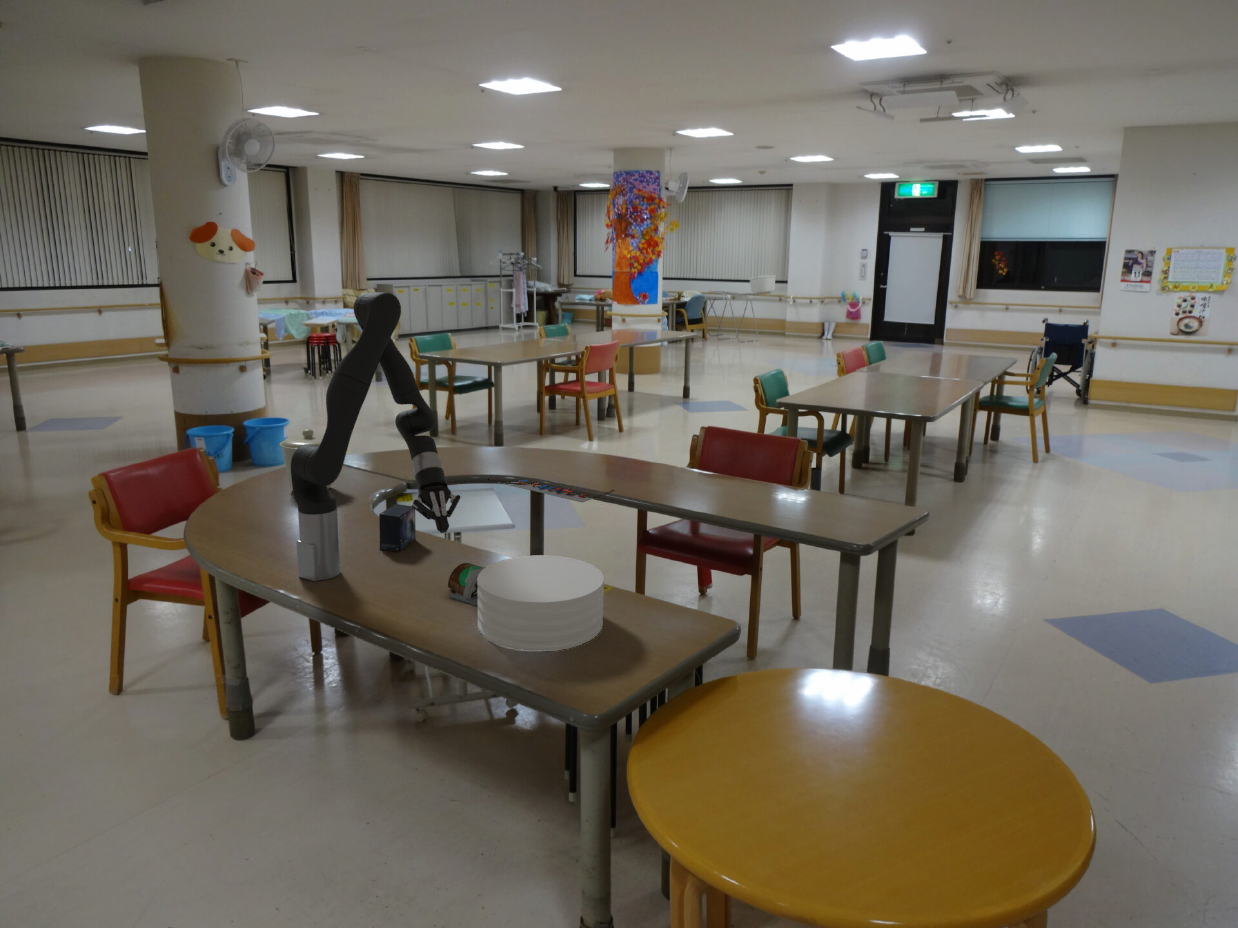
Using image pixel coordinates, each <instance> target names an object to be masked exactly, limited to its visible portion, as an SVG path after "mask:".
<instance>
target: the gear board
mask: <svg viewBox="0 0 1238 928" xmlns="http://www.w3.org/2000/svg"><path fill="white" fill-rule="evenodd" d="M527 481H528V480H519V481H518V482H511V483H521V484H522V485H509V484H505V485H506V486H510V487H515V488H519V489H523V490H528V491H531V492H536V493H540V494H545V495H550V496H554V497H558V498H562V499H566V500H570V501H575V502H579V503H585V502H588V501H591V500H592V499H594V498H588V497H584V496H578V495H577V492H576V494H570V493H568V492H574V491H569V490H568V489H569V488H568V489H563V488H564V487H562V488H557V489H556V490H552V489H551V488H555V487H549V488H545V487H548V485H543V486H542V485H537V484H539V483H538V482H537V483H534V484H532V485H531V484H528V483H525V482H527ZM496 483H498V484H501V483H500V482H496ZM508 483H509V482H508ZM558 490H559V491H558ZM561 491H562V492H561ZM563 491H566V492H563ZM581 495H583V494H581ZM585 496H589V495H587V494H585Z"/></svg>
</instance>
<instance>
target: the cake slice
mask: <svg viewBox="0 0 1238 928" xmlns="http://www.w3.org/2000/svg"><path fill="white" fill-rule="evenodd" d="M486 567H487V566H484V567H483V566H481V565H478V564H477V565H476V564H473V563H470V562H463V563H460V564H459V565H457V566H456V567H455V568H454V569H453V570H452V572H451V573H450V574H449V575H450V576H449V577H448V581H447V587H448V588H449V589H451V590H452V591H455V593H456V592H457V593H459V594H461V595H463V598H465V599H470V600H471V597H473V596H476V595H477V589H478V585H477V578H478V575H479V573H480V572H481V571H482V570H483V569H484V568H486Z"/></svg>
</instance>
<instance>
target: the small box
mask: <svg viewBox="0 0 1238 928" xmlns="http://www.w3.org/2000/svg"><path fill="white" fill-rule="evenodd" d="M378 515H379V516H378V519H379V523H378V525H379V526H378V528H379V550H380V551H381V550H382V551H389V552H397V553H400V552H401V551H403V550H404V549H406V548H407V547H409V546H410V545H411V544H413V543H414V542H415V541H417V540H416V539H417V538H416V537H417V535H416V532H417V531H416V510H415V509H414V508H413V507H412V505H406V504H401V503H400V504H398V503H395V504H393V505H392V506H390V507H389V508H387V509H385V510H383V511H382V512H380V513H379V514H378ZM408 545H409V546H408Z"/></svg>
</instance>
